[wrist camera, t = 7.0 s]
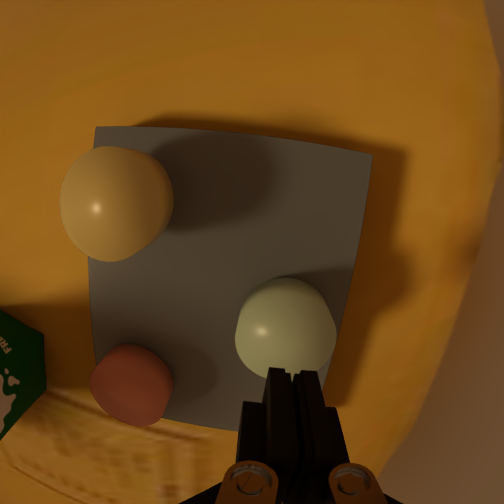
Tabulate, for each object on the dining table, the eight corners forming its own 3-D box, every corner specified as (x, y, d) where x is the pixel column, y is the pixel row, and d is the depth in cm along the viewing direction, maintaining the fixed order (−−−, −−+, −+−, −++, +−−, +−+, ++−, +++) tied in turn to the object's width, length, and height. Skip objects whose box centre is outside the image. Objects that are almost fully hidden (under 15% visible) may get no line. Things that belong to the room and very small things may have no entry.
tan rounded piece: (110, 150, 17) (63, 145, 12) (191, 154, 17) (163, 148, 12) (104, 233, 18) (59, 253, 14) (182, 244, 18) (154, 269, 14)
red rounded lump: (116, 320, 22) (84, 354, 17) (183, 334, 22) (162, 374, 17) (120, 376, 23) (95, 413, 18) (181, 390, 23) (165, 433, 18)
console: (117, 131, 19) (95, 126, 16) (358, 157, 19) (372, 154, 16) (116, 381, 24) (102, 401, 21) (303, 412, 24) (306, 437, 21)
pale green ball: (247, 259, 20) (241, 287, 15) (328, 270, 20) (346, 300, 15) (238, 332, 21) (230, 374, 17) (313, 341, 21) (323, 384, 16)
